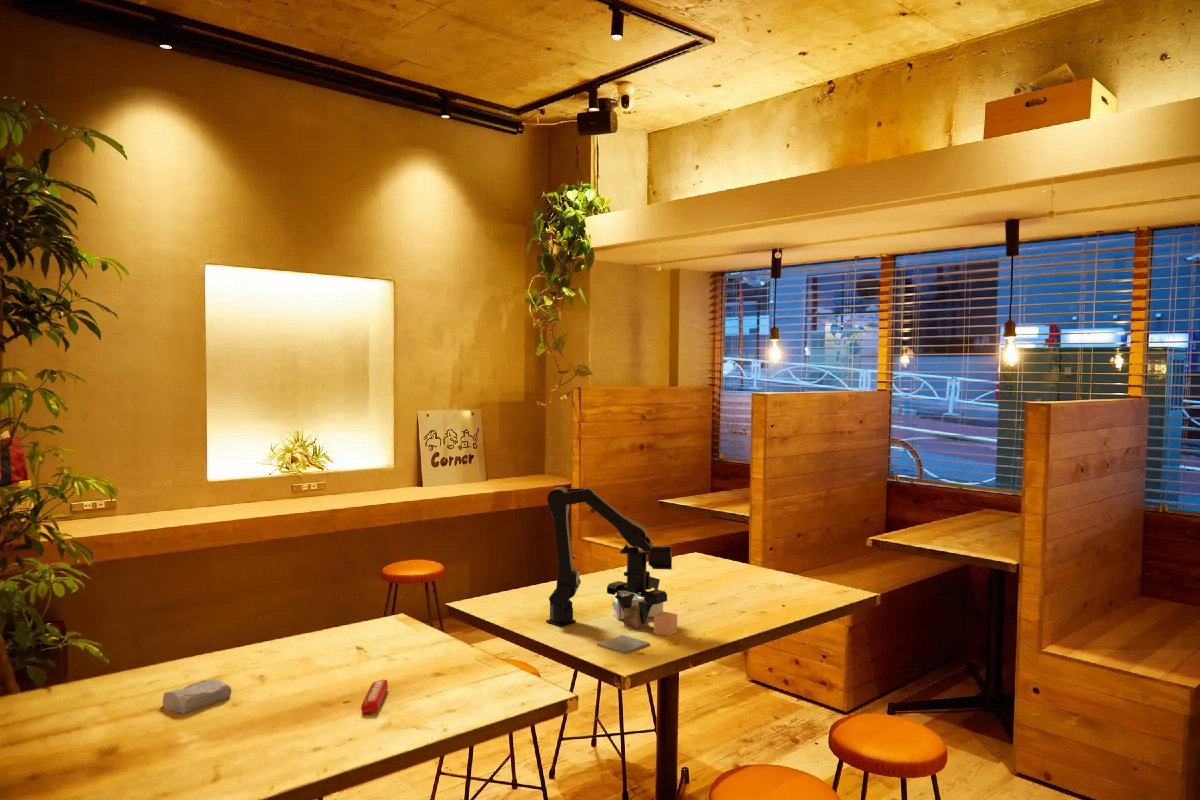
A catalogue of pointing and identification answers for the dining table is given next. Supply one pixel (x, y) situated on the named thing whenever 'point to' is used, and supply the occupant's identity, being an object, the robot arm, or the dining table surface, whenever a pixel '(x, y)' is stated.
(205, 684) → the stone block
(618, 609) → the syrup box
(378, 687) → the candy bar
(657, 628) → the terracotta cube
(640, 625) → the walnut cube
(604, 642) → the coaster
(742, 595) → the dining table surface
